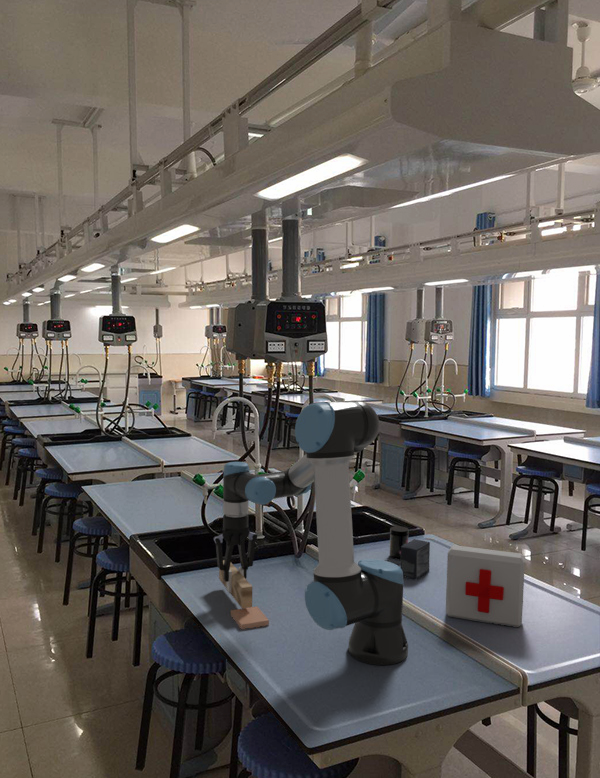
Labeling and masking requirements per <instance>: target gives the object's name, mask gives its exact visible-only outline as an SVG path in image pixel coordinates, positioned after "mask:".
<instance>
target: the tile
mask: <svg viewBox="0 0 600 778" xmlns="http://www.w3.org/2000/svg"><path fill="white" fill-rule="evenodd" d="M230 616H231V618H232V617H233V618H232V619H233V621H234V620H235V621H236V622H237V623H236V622H235V621H234V622H235V623H236V625H237V624H238V625H239V626H238V625H237V626H238V627H239V629H240V628H241V629H244V630H246V629H245V628H250V629H254V628H253V627H256V628H261V627H260V626H262V627H267V626H266V625H268V626H270V625H269V624H270V620H269V619H268V617H267V616H266V615H265V614H264V613H263V611H262V610H261V609H260V608H259V606H252V607H249V608H237V609H231V610H230ZM241 629H240V630H241Z"/></svg>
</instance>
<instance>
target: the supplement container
mask: <svg viewBox="0 0 600 778" xmlns="http://www.w3.org/2000/svg"><path fill="white" fill-rule="evenodd" d="M409 531H410V529H409V528H408V527H406V526H397V525H396V526H391V527H390V529H389V556H390V558H392V559H395V560H401V546H403V545H405V544H406V543H408V542H409V535H410V533H409Z"/></svg>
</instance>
